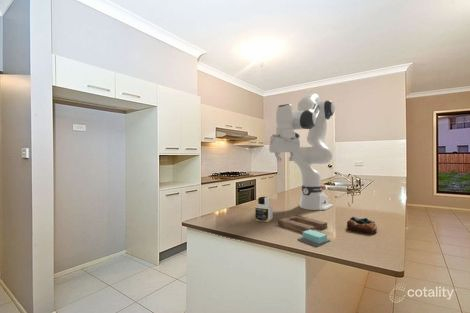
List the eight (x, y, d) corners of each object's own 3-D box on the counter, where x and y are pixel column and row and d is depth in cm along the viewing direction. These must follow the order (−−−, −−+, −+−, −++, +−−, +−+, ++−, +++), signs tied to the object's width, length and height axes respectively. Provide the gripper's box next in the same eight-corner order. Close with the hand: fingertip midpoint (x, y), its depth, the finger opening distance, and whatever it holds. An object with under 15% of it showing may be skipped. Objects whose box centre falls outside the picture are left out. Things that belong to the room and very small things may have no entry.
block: (310, 235, 101) (310, 229, 101) (327, 241, 94) (326, 234, 94) (302, 237, 98) (302, 231, 98) (319, 243, 91) (319, 237, 91)
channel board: (296, 219, 126) (296, 214, 126) (327, 227, 112) (327, 222, 112) (278, 224, 118) (278, 219, 118) (309, 234, 103) (309, 228, 103)
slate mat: (311, 235, 103) (311, 233, 103) (330, 241, 95) (330, 239, 95) (297, 239, 97) (297, 238, 97) (317, 246, 90) (317, 245, 90)
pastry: (350, 224, 117) (350, 213, 117) (378, 229, 109) (378, 216, 109) (344, 230, 108) (344, 218, 108) (374, 236, 101) (374, 222, 101)
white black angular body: (255, 220, 126) (255, 197, 125) (260, 217, 132) (260, 195, 132) (268, 222, 122) (267, 199, 122) (272, 218, 129) (272, 196, 128)
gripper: (275, 133, 116) (275, 162, 116) (301, 135, 128) (302, 160, 128) (266, 134, 121) (266, 161, 121) (292, 135, 133) (292, 160, 134)
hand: (285, 161), depth 125 cm, fingers open, 8 cm apart
